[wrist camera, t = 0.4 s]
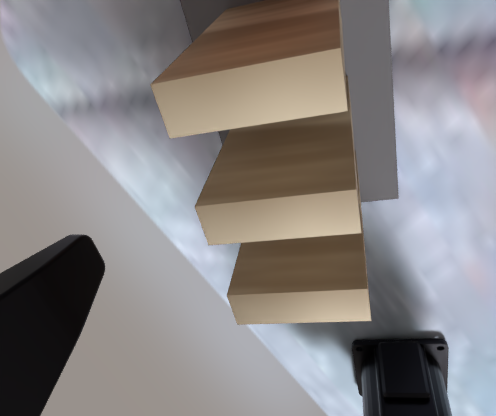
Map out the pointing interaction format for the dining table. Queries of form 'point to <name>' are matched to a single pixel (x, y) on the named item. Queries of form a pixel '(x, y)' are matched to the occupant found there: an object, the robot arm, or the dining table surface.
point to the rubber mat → (360, 85)
